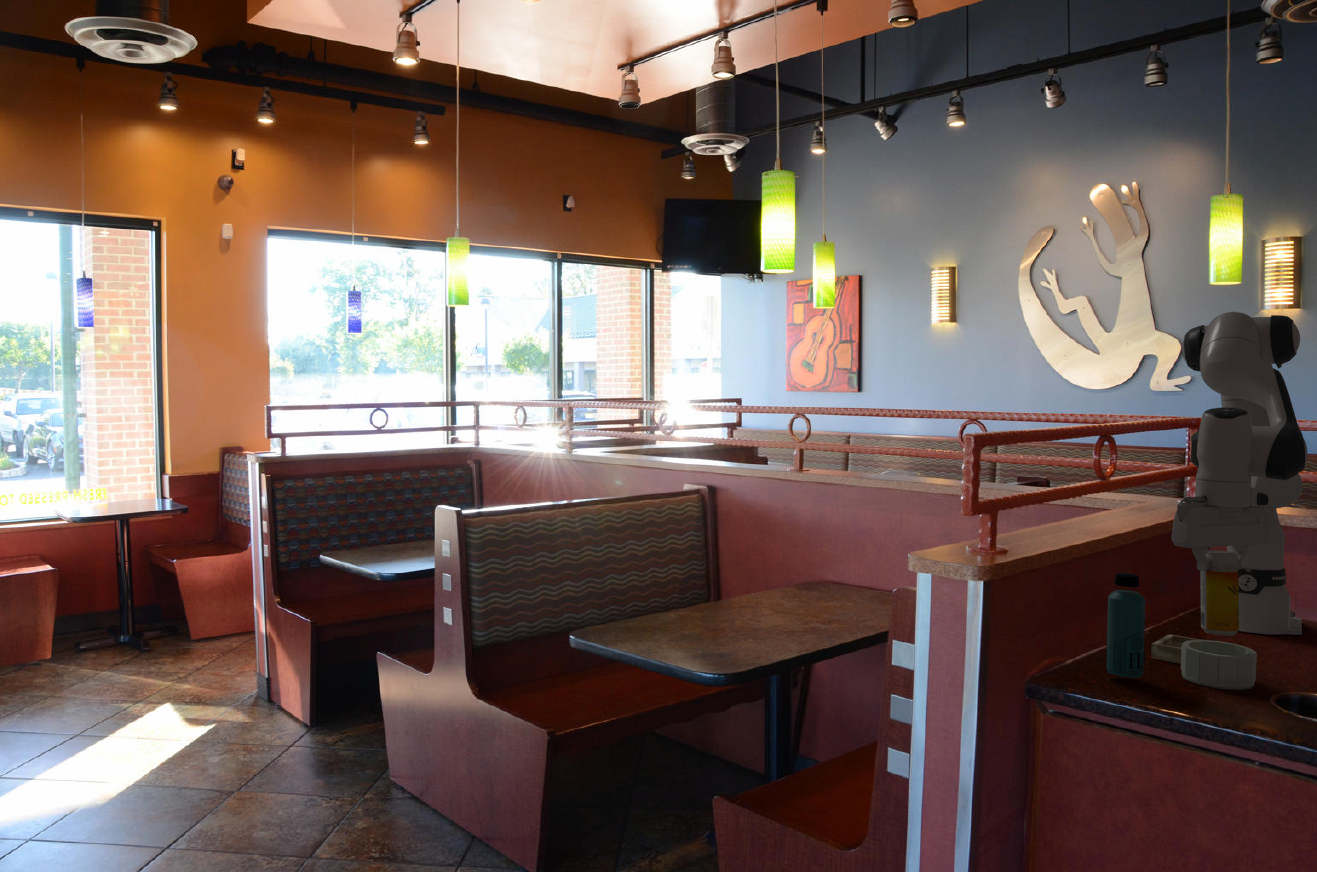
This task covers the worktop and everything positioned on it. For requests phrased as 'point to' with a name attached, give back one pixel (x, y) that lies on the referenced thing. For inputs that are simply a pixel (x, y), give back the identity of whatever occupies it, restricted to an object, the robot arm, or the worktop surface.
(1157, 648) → the square beige tray
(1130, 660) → the beverage bottle
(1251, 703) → the worktop surface
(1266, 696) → the worktop surface
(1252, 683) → the cup
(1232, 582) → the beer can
